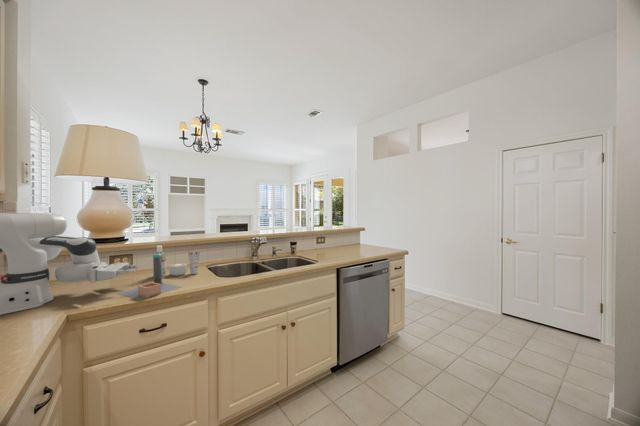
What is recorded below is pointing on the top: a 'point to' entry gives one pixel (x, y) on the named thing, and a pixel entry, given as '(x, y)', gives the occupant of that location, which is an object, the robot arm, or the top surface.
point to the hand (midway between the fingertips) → (133, 269)
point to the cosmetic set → (179, 264)
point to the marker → (157, 268)
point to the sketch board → (164, 288)
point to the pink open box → (149, 289)
